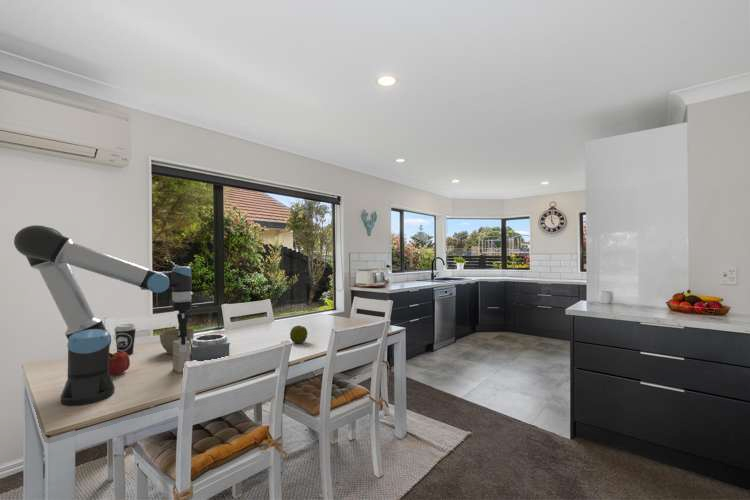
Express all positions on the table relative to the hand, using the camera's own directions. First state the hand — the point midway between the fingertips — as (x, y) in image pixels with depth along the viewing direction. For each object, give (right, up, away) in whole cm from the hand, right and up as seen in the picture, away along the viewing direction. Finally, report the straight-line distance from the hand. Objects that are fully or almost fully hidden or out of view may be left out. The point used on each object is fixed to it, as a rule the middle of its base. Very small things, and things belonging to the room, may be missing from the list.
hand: (182, 348), depth 155 cm
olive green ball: (+42, -11, +48) cm, 65 cm away
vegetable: (-26, -10, -6) cm, 29 cm away
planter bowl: (-19, -10, +28) cm, 35 cm away
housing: (+2, -10, +21) cm, 23 cm away
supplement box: (0, -10, 0) cm, 10 cm away
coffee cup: (-43, -10, +23) cm, 50 cm away
